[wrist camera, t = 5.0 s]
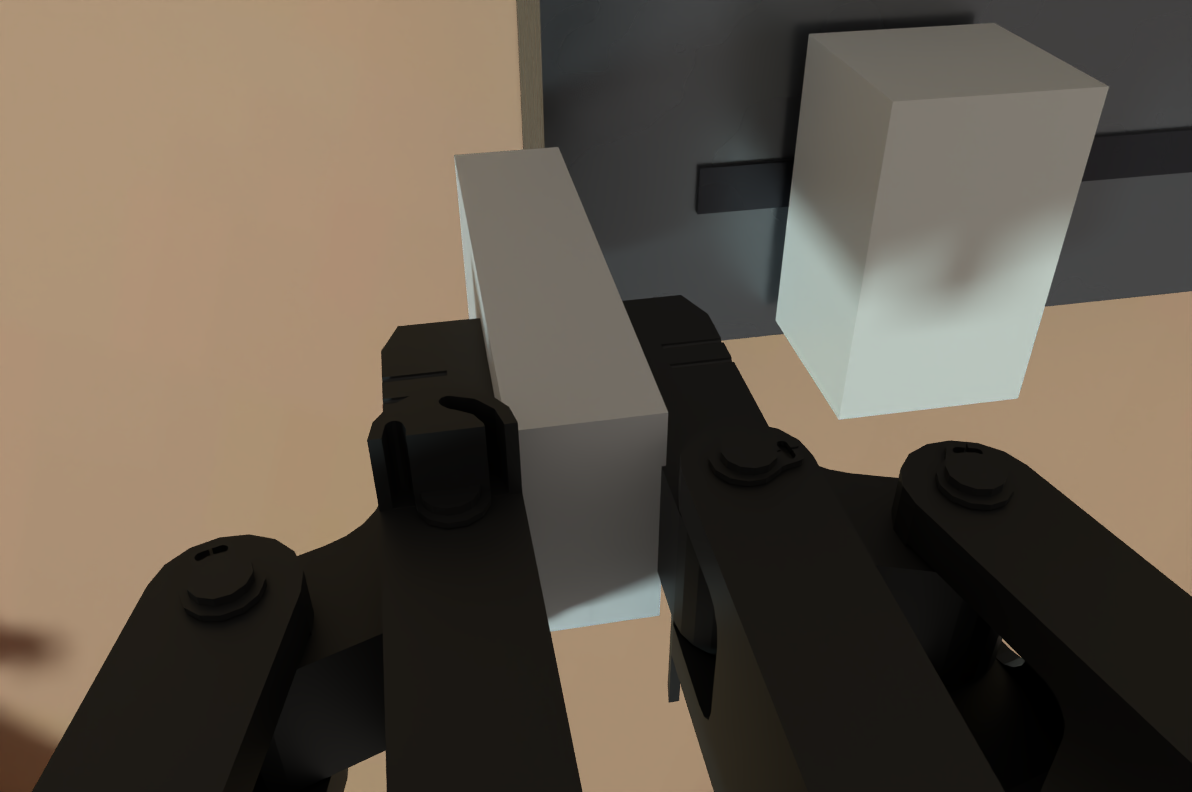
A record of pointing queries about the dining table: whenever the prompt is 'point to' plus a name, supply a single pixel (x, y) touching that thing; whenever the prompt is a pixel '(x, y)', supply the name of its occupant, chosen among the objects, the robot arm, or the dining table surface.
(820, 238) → the block
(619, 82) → the fader console
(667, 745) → the dining table surface
